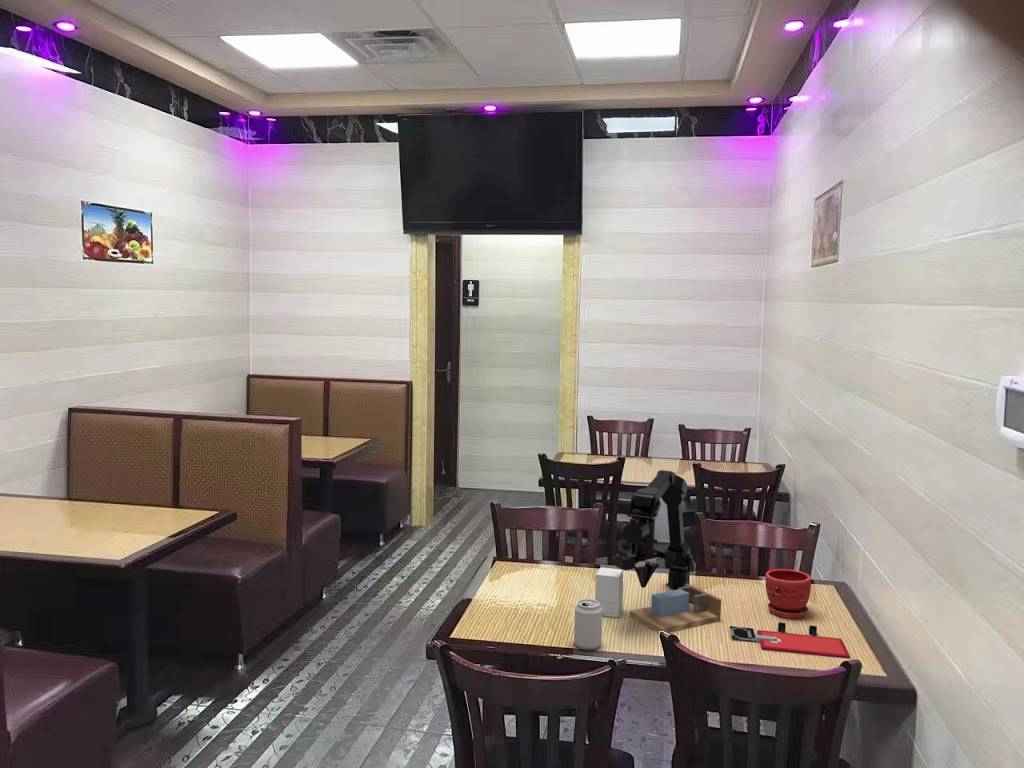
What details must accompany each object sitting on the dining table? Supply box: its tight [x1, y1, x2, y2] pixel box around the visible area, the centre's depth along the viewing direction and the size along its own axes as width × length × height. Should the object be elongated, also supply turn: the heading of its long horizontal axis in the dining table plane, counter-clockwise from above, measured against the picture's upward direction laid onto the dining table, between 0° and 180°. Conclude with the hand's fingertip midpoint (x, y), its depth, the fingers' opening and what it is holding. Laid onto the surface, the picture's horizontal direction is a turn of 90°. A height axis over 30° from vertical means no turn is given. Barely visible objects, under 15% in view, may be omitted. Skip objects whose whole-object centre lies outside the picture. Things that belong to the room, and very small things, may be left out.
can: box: [573, 598, 603, 651], centre depth 210 cm, size 8×8×12 cm
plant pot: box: [765, 568, 812, 619], centre depth 236 cm, size 13×13×12 cm
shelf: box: [629, 583, 722, 633], centre depth 231 cm, size 22×15×6 cm
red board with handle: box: [729, 621, 851, 660], centre depth 215 cm, size 30×3×15 cm
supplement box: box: [594, 567, 624, 618], centre depth 234 cm, size 7×7×13 cm
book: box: [650, 589, 689, 617], centre depth 232 cm, size 11×4×6 cm, turn 118°
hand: (643, 587), depth 226 cm, fingers closed
